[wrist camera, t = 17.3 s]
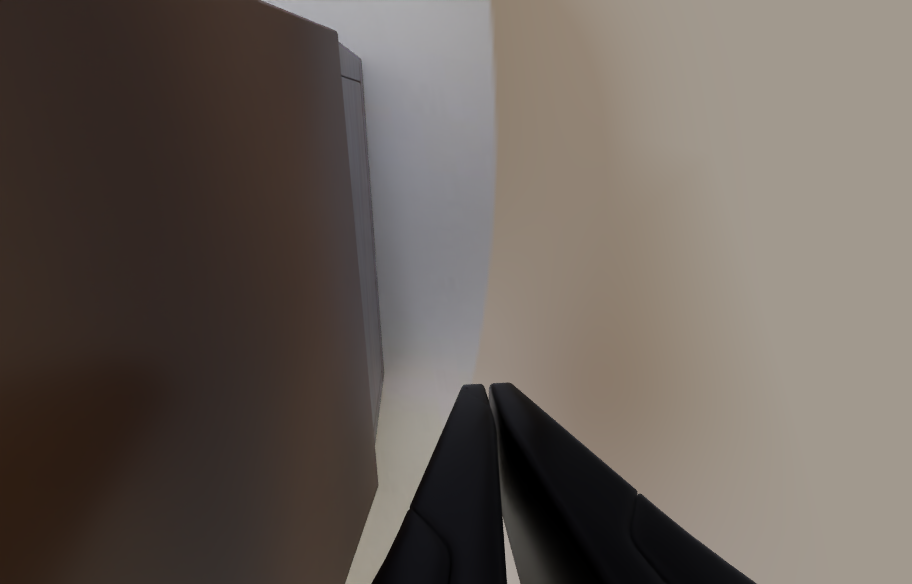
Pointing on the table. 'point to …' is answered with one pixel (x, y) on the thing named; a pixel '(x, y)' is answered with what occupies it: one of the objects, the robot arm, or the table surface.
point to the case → (363, 220)
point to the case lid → (178, 298)
